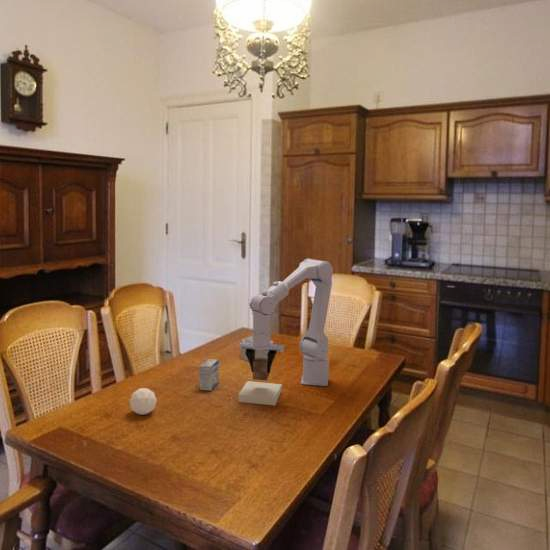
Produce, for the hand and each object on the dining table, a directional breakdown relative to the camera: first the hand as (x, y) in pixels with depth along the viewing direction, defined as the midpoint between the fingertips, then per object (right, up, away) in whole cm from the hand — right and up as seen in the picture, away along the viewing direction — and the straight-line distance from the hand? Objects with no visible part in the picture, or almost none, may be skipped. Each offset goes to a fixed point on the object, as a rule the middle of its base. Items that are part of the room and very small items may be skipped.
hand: (260, 371), depth 162 cm
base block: (0, -9, +1) cm, 9 cm away
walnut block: (0, -2, 0) cm, 2 cm away
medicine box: (-18, -7, +9) cm, 21 cm away
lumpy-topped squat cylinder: (-3, -3, +41) cm, 41 cm away
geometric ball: (-35, -10, -13) cm, 39 cm away
